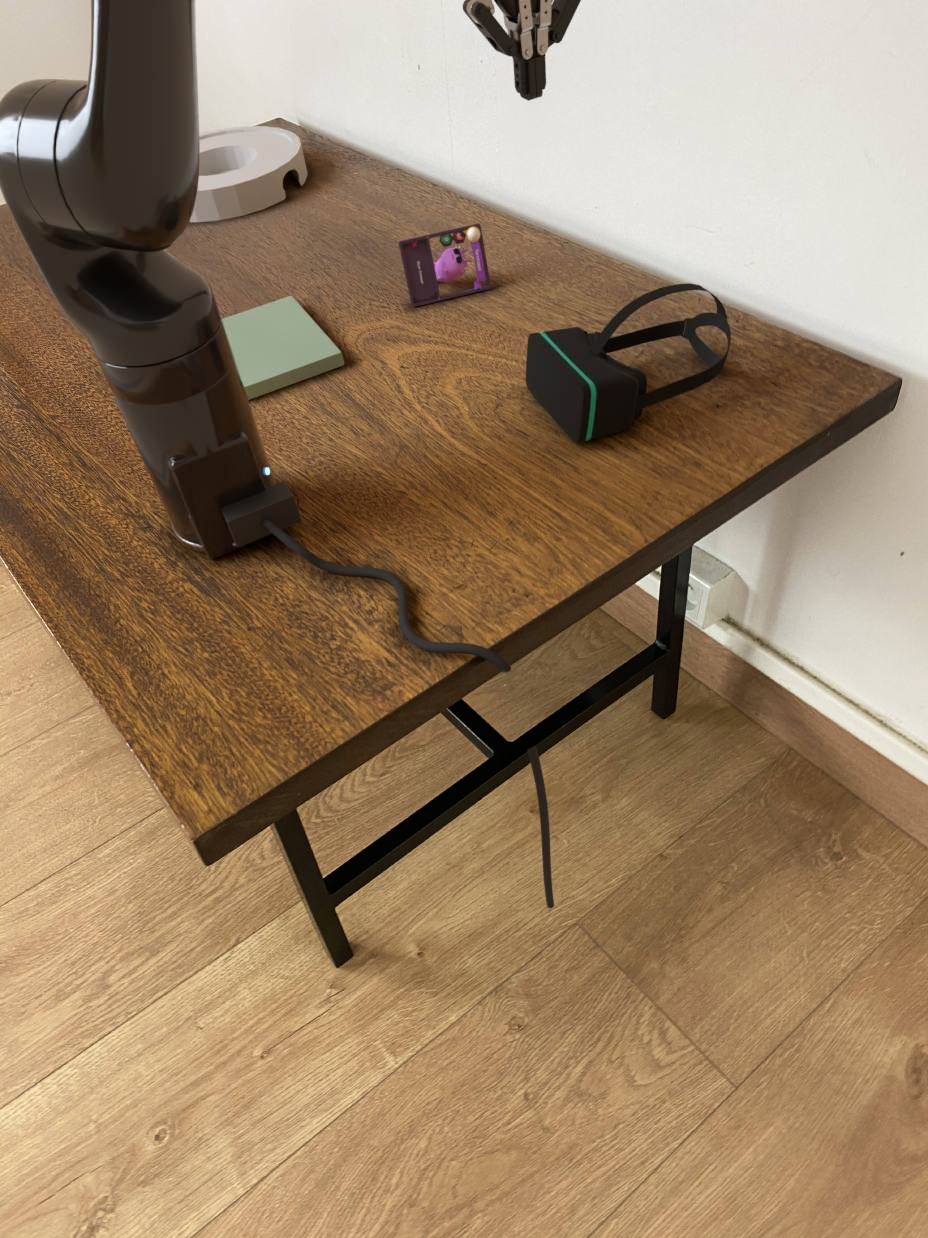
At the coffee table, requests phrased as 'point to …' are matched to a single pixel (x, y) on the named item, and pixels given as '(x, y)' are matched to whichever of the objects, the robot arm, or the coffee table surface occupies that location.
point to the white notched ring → (244, 170)
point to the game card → (442, 264)
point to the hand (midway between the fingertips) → (531, 96)
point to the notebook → (279, 346)
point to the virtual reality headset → (611, 369)
